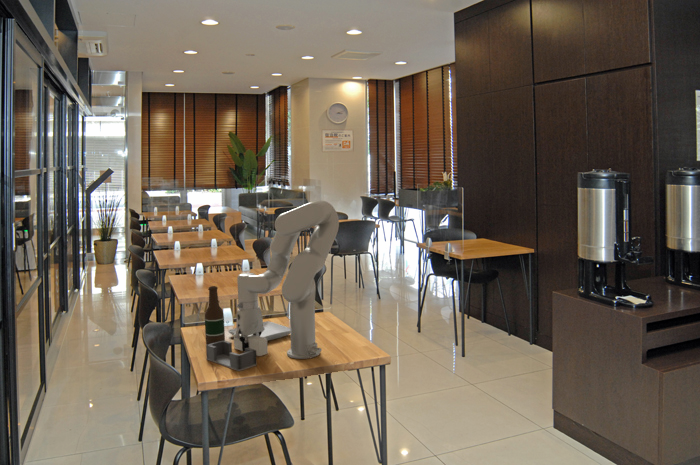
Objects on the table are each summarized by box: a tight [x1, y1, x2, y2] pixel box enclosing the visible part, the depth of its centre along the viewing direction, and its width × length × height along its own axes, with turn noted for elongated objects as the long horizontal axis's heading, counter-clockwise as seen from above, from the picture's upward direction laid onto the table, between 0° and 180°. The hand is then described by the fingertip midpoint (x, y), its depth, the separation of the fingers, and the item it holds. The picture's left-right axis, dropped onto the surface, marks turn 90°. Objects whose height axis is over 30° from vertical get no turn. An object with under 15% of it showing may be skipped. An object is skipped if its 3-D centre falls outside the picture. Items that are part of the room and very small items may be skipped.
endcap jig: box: [205, 339, 258, 372], centre depth 205 cm, size 20×8×6 cm, turn 48°
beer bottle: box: [204, 285, 226, 346], centre depth 228 cm, size 8×8×24 cm
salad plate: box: [227, 320, 290, 342], centre depth 239 cm, size 21×21×3 cm
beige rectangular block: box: [233, 334, 269, 357], centre depth 218 cm, size 16×4×6 cm, turn 48°
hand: (250, 349), depth 218 cm, fingers closed on beige rectangular block, 4 cm apart
